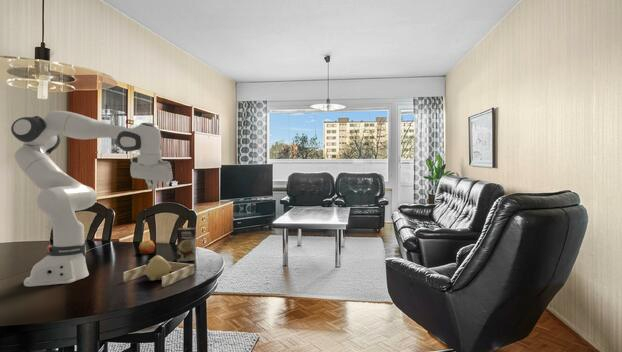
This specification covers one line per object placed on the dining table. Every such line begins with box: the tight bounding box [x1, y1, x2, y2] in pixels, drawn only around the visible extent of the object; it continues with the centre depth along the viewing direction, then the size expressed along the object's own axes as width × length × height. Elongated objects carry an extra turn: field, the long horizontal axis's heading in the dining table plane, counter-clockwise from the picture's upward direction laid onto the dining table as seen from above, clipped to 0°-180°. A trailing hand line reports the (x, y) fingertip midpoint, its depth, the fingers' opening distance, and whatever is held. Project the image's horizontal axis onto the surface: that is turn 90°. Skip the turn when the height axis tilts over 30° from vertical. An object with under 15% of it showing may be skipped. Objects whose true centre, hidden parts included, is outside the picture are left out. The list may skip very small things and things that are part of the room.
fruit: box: [138, 239, 156, 255], centre depth 201 cm, size 8×8×8 cm
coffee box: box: [176, 227, 197, 263], centre depth 187 cm, size 9×6×16 cm
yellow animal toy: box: [145, 254, 172, 282], centre depth 154 cm, size 10×12×11 cm
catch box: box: [123, 261, 196, 288], centre depth 157 cm, size 20×20×4 cm
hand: (152, 189), depth 169 cm, fingers closed
